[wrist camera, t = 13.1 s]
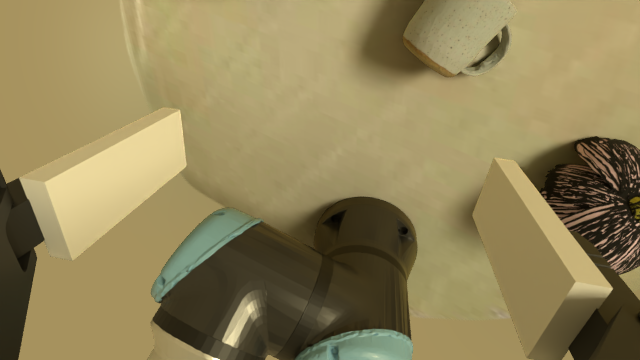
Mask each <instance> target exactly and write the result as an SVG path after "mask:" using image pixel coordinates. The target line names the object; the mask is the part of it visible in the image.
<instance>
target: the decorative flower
mask: <svg viewBox="0 0 640 360" xmlns="http://www.w3.org/2000/svg"><path fill="white" fill-rule="evenodd" d="M574 148H575V150H576V151H577V153H578V155H579V156H580V158H582V159H583V160H584V161H585V162H586V163H587V164H588V166H584V165H573V164H561V165H556V166H555V169H552V170H550V171H548V172H550V173H549V174H548V175H547V176H545V177H548V178H547V180H546V182H545V188H542V189H541V191H540V192H539V193H540V194H541V196H542V197H543V198H544V199H545V201H546V202H547V203H548V205H549V206H550V207H551V209H552V210H553V211H554V212H555V214H556V215H557V216H558V218H559V219H560V220H561V221H562V223H563V224H564V225H565V227H566V228H567V229H568V230H569V231H575V232H577V233H579V234H580V235H581V236H583V237H584V238H586V239H587V240H588V241H590V242H591V243H592V244H593V245H594V246H595V247H596V249H597V250H598V251H599V252H600V253H601V255H602V256H603V257H602V258H605V259H606V261H607V262H608V263H609V264H610V265H611V269H614V270H615V271H616V273H617V274H618V275H620V274H624V273H626V272H629V271H631V270H633V269H635V268H637V267H639V266H640V150H639V149H638V148H637V147H635V146H634V145H632V144H630V143H628V142H626V141H624V140H623V141H622V140H617V139H616V140H615V139H614V140H610V139H609V138H599V137H597V136H596V137H590V138H585V139H582V140H578V142H575V144H574Z"/></svg>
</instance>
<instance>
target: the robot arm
mask: <svg viewBox="0 0 640 360" xmlns="http://www.w3.org/2000/svg"><path fill="white" fill-rule="evenodd" d="M186 166H187V165H186V157H185V148H184V139H183V131H182V122H181V113H180V110H179V109H172V108H166V107H163V108H161V109H159V110H157V111H155V112H153V113H151V114H149V115H147V116H145V117H142V118H140V119H138V120H136V121H134V122H132V123H130V124H128V125H126V126H124V127H122V128H120V129H118V130H116V131H114V132H112V133H110V134H108V135H105V136H103V137H101V138H99V139H97V140H95V141H93V142H91V143H89V144H87V145H85V146H83V147H81V148H79V149H77V150H75V151H72V152H71V153H68V154H66V155H64V156H62V157H60V158H58V159H56V160H54V161H52V162H50V163H48V164H46V165H44V166H42V167H39V168H37V169H35V170H33V171H32V172H29V173H27V174H25V175H23V176H21V177H19V178H18V179H16V180H14V181H12V182H10V183H7V184H6V182H5V179H4V177H3V175H2V172H1V170H0V360H18V357H19V352H20V347H21V342H22V336H23V331H24V325H25V320H26V314H27V309H28V304H29V298H30V293H31V288H32V282H33V277H34V272H35V266H36V261H37V257H36V253H35V250H34V247H35V246H37V245H38V244H40V243H41V242H43V241H44V242H45V244H46V247H47V249H48V252H49V255H50V256H52V257H57V258H61V259H66V260H71V261H73V260H74V259H75V258H77V257H78V256H79V255H80V254H82V252H84V251H85V250H86V249H88V248H89V247H90V246H91V245H92V244H94V243H95V242H96V241H97V240H98V239H100V238H101V237H102V236H103V235H104V234H106V233H107V232H108V231H109V230H110V229H112V228H113V227H114V226H115V225H116V224H117V223H119V222H120V221H121V220H122V219H124V218H125V217H126V216H127V215H128V214H130V213H131V212H132V211H133V210H134V209H136V208H137V207H138V206H139V205H140V204H141V203H143V202H144V201H145V200H147V199H148V198H149V197H150V196H151V195H152V194H154V193H155V192H156V191H157V190H158V189H160V188H161V187H162V186H163V185H165V184H166V183H167V182H168V181H169V180H170V179H172V178H173V177H174V176H175V175H176V174H178V173H179V172H180V171H181V170H183V169H184V168H185V167H186ZM472 216H473V219H474V222H475V224H476V227H477V230H478V232H479V235H480V237H481V240H482V243H483V245H484V248H485V250H486V253H487V256H488V258H489V261H490V264H491V266H492V269H493V271H494V274H495V277H496V279H497V282H498V284H499V287H500V290H501V292H502V295H503V298H504V300H505V303H506V305H507V308H508V311H509V313H510V316H511V318H512V321H513V324H514V326H515V329H516V332H517V334H518V337H519V339H520V342H521V345H522V347H523V350H524V352H525V355H526V357H527V358H529V359H534V360H562V358H563V357H564V355H565V354H566V353H567V351H568V350H569V351H570V352H571V354H572V356H573V358H574V360H640V300H639V299H638V298H637V297H636V296H635V294H634V293H633V292H632V291H631V290H630V288H629V287H628V286H627V285H626V284H625V282H624V281H623V280H622V279H621V278H620V276H619V275H618V274H617V273H616V271H615V270H614V269H611V265H610V264H609V263H608V262H607V261H606V259H605V258H602V257H603V256H602V255H601V253H600V252H599V251H598V250H597V249H596V247H595V246H594V245H593V244H592V243H591V242H590V241H588V240H587V239H586V238H584V237H583V236H581V235H580V234H579V233H577V232H575V231H569V230H568V229H567V228H566V227H565V225H564V224H563V223H562V221H561V220H560V219H559V218H558V216H557V215H556V214H555V212H554V211H553V210H552V209H551V207H550V206H549V205H548V203H547V202H546V201H545V199H544V198H543V197H542V196H541V194H540V193H539V192H538V190H537V189H536V188H535V187H534V185H533V184H532V183H531V181H530V180H529V179H528V177H527V176H526V175H525V174H524V172H523V171H522V170H521V168H520V167H519V166H518V164H517V163H516V162H515V161H514V160H507V159H501V158H494V159H493V162H492V164H491V167H490V169H489V172H488V175H487V177H486V180H485V182H484V185H483V188H482V190H481V193H480V196H479V198H478V201H477V203H476V206H475V209H474V211H473V214H472ZM416 256H417V238H416V232H415V229H414V226H413V224H412V223H411V221H410V219H409V218H408V217H407V216H406V215H405V214H404V213H403V212H402V211H401V210H400V209H399V208H397V207H396V206H394V205H392V204H390V203H388V202H386V201H383V200H380V199H376V198H369V197H356V198H350V199H346V200H343V201H340V202H338V203H336V204H334V205H333V206H331V207H330V208H329V209H328V210H327V211H326V212H325V213H324V214H323V215H322V217H321V218H320V220H319V223H318V225H317V229H316V232H315V236H314V249H313V248H311V247H309V246H307V245H305V244H303V243H302V242H300V241H298V240H296V239H294V238H292V237H290V236H288V235H286V234H285V233H283V232H281V231H279V230H277V229H275V228H273V227H271V226H269V225H268V224H266V223H264V220H262V219H260V218H258V219H256V218H254V217H252V216H249V215H247V214H245V213H243V212H241V211H239V210H236V209H234V208H222V209H219V210H217V211H215V212H213V213H212V214H210V215H209V216H208V217H207V218H205V219H204V220H203V221H202V222H201V223H200V224H199V225H198V226H197V227H196V228H195V229H194V230H193V231H192V232H191V233H190V234H189V235H188V236H187V238H186V239H185V240H184V241H183V242H182V243H181V245H180V246H179V247H178V248H177V249H176V251H175V252H174V253H173V255H172V256H171V257H170V259H169V260H168V261H167V263H166V264H165V266H164V267H163V269H162V271H161V274H160V275H159V276H158V278H157V279H156V280H155V282H154V284H153V286H152V289H151V295H152V297H153V298H154V299H155V301H156V302H157V303H161V306H160V308H159V309H158V311H157V313H156V314H155V316H154V317H153V319H152V321H151V328H152V332H153V337H154V349H153V350H152V352H151V354H150V355H149V357H148V359H147V360H265V358H266V357H267V355H271V356H273V357H275V358H277V359H279V360H412V353H413V345H412V342H411V330H410V319H409V305H408V291H407V279H408V277H409V274H410V272H411V270H412V267H413V265H414V262H415V260H416Z"/></svg>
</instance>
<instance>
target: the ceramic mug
mask: <svg viewBox="0 0 640 360" xmlns="http://www.w3.org/2000/svg"><path fill="white" fill-rule="evenodd" d="M516 13H517V9H516V7H515V6H514V5H513V4H512V2H510V1H509V0H425V1H424V2H423V3H422V5H421V6H420V8H419V9H418V11H417V12H416V14H415V15H414V16H413V18H412V19H411V21H410V22H409V24H408V26H407V28H406V29H405V31H404V34H403V38H402V40H403V44H404V45H405V46H406V47H407V49H408V50H409V51H411V52H412V53H413V54H414V55H415V56H416V57H417V58H418V59H420V60H421V61H422V62H424V63H425V64H426V65H427V66H429V67H430V68H432V69H433V70H434V71H436V72H438V73H439V74H441V75H443V76H445V77H453V76H455V75H456V74H458V73H459V72H462V73H463V74H466V75H470V76H477V75H482V74H484V73H487V72H488V71H490V70H491V69H493V68H494V67H496V66H497V65H498V64H499V63H500V62H501V61H502V60H503V59H504V57H505V56H506V55H507V53H508V51H509V49H510V46H511V42H512V34H511V29H510V27H509V24H508V22H509V21H510V20H511V19H512V18H513V17H514V16H515V14H516ZM500 30H501V31H502V38H501V42H500V44H499V45H498V48H497V49H496V50H495V51H494V52H493V53H492V54H491V55H490V56H489V57H488V58H487V59H486V60H484V61H482V62H481V63H480V65H478V66H476V67H470V68H468V67H466V66H467V65H468V64H469V63H470V62H471V61H472V60H473V59H474V58H475V57H476V55H477V54H478V53H479V52H480V51H481V50H482V49H483V48H484V47H485V46H486V45H487V44H488V43H489V42H490V41H491V40H492V39H493V38H494V37H495V36H496V35H497V34H498V33H499V31H500Z"/></svg>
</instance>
